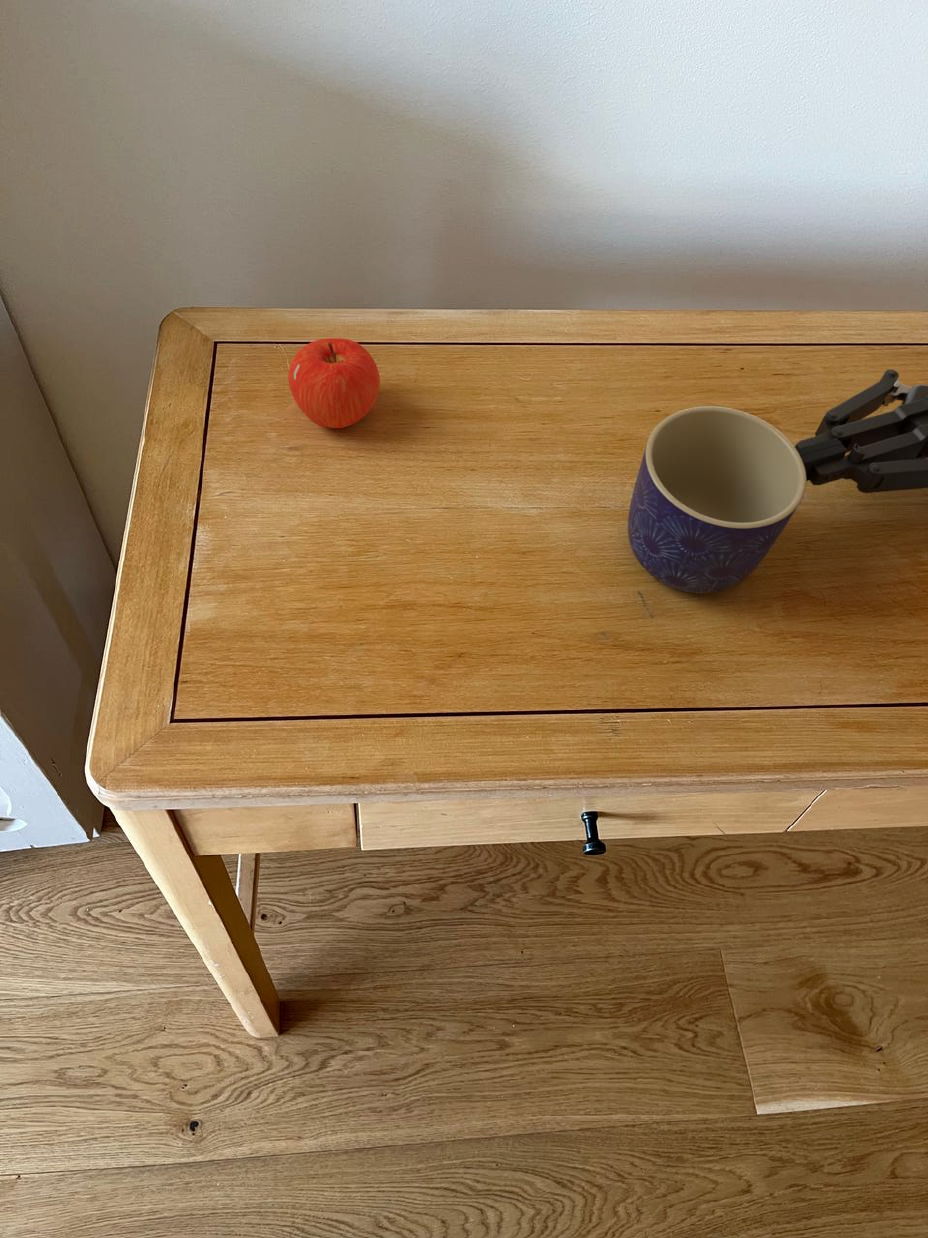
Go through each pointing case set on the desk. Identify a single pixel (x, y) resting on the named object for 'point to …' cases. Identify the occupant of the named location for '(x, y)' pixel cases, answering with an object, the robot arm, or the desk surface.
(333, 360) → the apple
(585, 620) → the desk surface
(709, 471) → the planter
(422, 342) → the desk surface
